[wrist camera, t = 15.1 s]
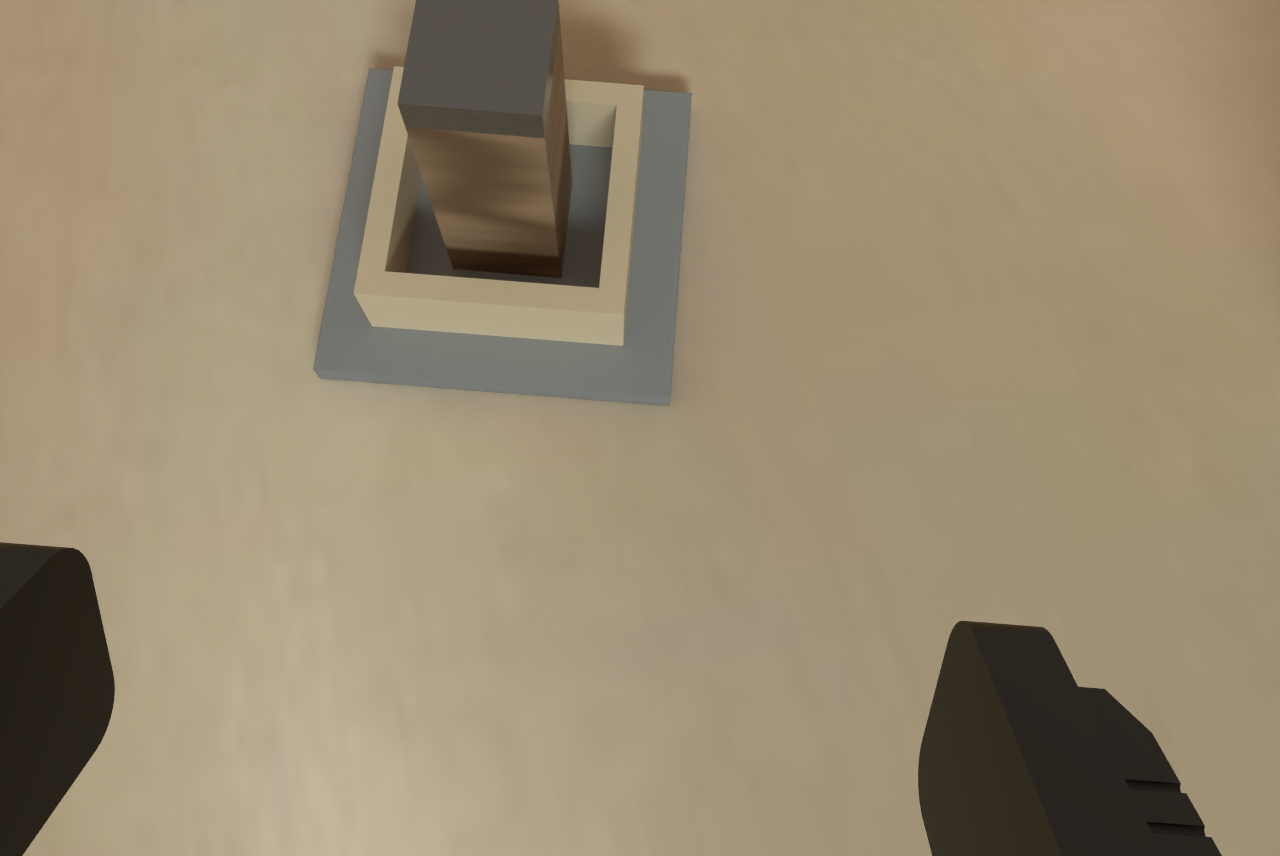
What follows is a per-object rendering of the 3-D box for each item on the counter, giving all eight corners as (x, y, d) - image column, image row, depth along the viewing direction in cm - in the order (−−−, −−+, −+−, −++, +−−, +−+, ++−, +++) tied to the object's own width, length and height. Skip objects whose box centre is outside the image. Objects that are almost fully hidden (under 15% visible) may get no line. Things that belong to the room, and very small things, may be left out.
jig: (689, 107, 45) (696, 47, 41) (669, 405, 41) (674, 369, 37) (374, 82, 45) (352, 20, 41) (320, 378, 41) (289, 339, 37)
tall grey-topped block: (572, 183, 43) (557, -4, 32) (561, 278, 41) (542, 115, 31) (467, 174, 43) (419, -16, 32) (453, 269, 41) (397, 103, 31)
